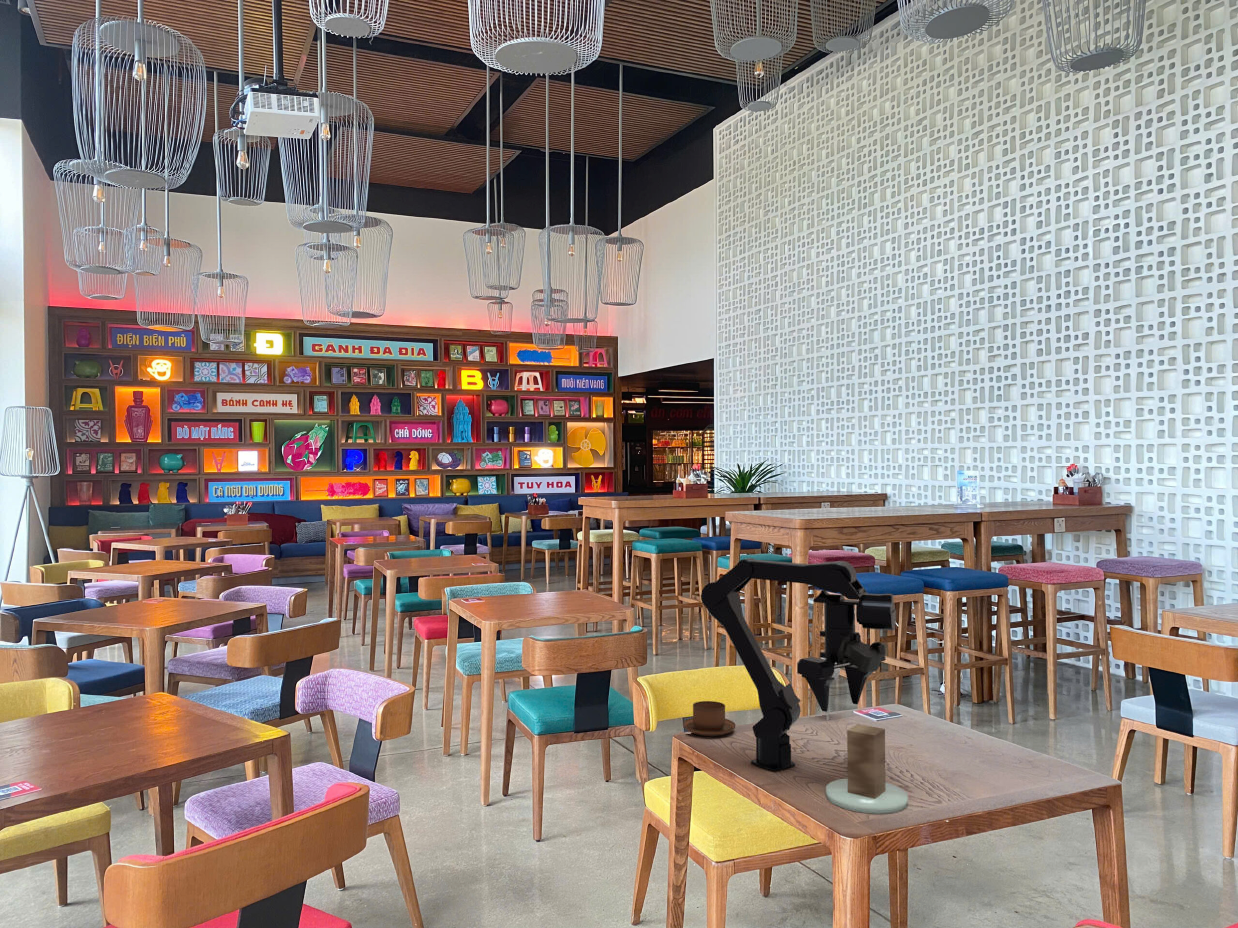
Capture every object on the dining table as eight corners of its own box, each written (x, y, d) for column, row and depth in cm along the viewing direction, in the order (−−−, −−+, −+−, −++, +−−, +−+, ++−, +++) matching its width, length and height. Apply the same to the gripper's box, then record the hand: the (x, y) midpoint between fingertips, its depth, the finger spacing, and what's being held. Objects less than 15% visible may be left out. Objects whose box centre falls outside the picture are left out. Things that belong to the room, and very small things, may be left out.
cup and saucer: (673, 728, 192) (673, 701, 192) (717, 722, 197) (717, 696, 197) (699, 742, 181) (699, 714, 181) (745, 735, 186) (745, 708, 186)
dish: (809, 795, 149) (809, 788, 149) (858, 779, 157) (858, 772, 157) (875, 820, 138) (875, 812, 138) (924, 801, 146) (924, 794, 146)
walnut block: (847, 792, 147) (847, 730, 148) (858, 784, 151) (858, 723, 152) (875, 798, 144) (874, 735, 145) (885, 790, 148) (884, 728, 148)
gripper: (842, 637, 149) (842, 725, 148) (904, 627, 160) (905, 708, 159) (794, 629, 157) (795, 711, 157) (856, 620, 169) (857, 697, 168)
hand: (840, 707), depth 160 cm, fingers open, 9 cm apart
